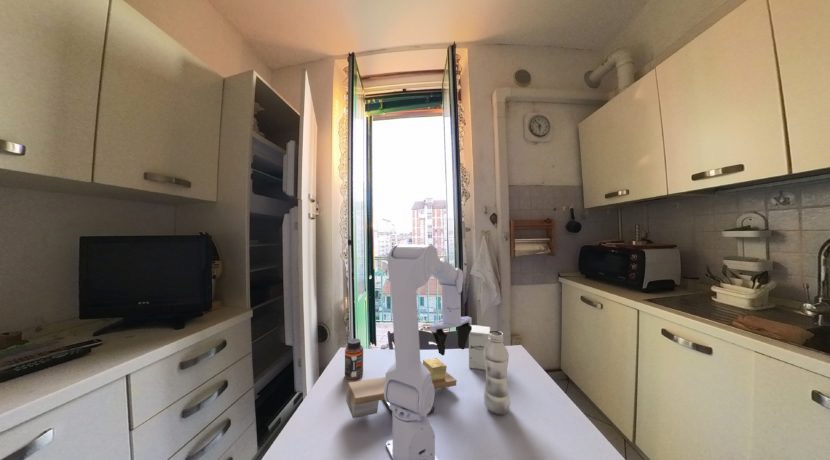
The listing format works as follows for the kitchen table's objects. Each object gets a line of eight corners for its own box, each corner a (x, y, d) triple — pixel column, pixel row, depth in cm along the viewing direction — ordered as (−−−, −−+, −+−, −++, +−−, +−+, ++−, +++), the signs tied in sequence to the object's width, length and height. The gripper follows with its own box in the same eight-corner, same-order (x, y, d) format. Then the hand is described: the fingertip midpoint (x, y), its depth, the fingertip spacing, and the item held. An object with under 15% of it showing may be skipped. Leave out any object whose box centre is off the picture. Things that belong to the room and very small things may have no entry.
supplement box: (468, 368, 85) (468, 331, 85) (469, 358, 92) (469, 324, 92) (490, 371, 83) (490, 333, 83) (490, 360, 90) (490, 326, 90)
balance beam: (454, 396, 71) (456, 380, 72) (353, 418, 57) (355, 398, 57) (441, 383, 77) (442, 368, 78) (346, 400, 63) (348, 382, 64)
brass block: (445, 380, 71) (446, 365, 71) (430, 382, 69) (432, 367, 69) (435, 371, 75) (437, 358, 76) (421, 373, 73) (423, 359, 73)
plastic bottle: (493, 421, 61) (492, 339, 61) (479, 403, 67) (478, 329, 68) (515, 415, 62) (514, 336, 63) (499, 398, 69) (498, 327, 69)
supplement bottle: (358, 381, 77) (358, 345, 77) (341, 379, 78) (341, 343, 79) (366, 371, 83) (366, 337, 83) (349, 369, 84) (349, 336, 84)
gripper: (461, 300, 83) (461, 341, 82) (424, 306, 76) (424, 351, 75) (476, 305, 76) (476, 349, 76) (437, 312, 69) (437, 361, 69)
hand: (451, 350), depth 75 cm, fingers open, 7 cm apart
